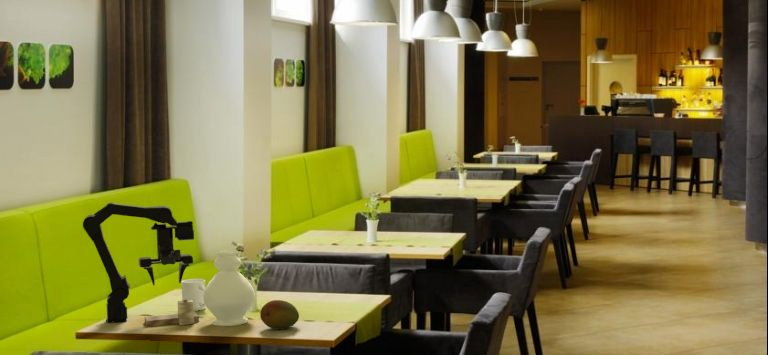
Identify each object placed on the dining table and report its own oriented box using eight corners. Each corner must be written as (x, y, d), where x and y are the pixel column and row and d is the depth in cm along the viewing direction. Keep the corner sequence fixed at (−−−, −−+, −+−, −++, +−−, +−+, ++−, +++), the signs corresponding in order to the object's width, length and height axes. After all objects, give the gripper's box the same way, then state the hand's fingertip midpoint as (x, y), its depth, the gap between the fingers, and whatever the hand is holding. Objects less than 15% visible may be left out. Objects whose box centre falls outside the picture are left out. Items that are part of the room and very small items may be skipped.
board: (147, 326, 387) (146, 320, 387) (144, 322, 393) (144, 316, 393) (198, 321, 393) (198, 316, 392) (195, 317, 399) (195, 312, 399)
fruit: (255, 329, 378) (254, 300, 377) (281, 323, 388) (280, 294, 387) (279, 334, 371) (278, 304, 370) (305, 327, 380) (304, 298, 379)
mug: (198, 313, 407) (196, 284, 406) (177, 309, 415) (176, 281, 414) (216, 309, 413) (215, 281, 412) (196, 305, 421) (195, 277, 420)
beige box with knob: (179, 325, 387) (178, 301, 386) (175, 319, 396) (174, 296, 396) (194, 323, 389) (193, 299, 388) (189, 318, 398) (188, 295, 397)
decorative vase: (235, 329, 379) (232, 256, 376) (194, 325, 387) (190, 254, 385) (265, 318, 394) (262, 249, 392) (225, 315, 403) (222, 246, 401)
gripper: (141, 246, 388) (143, 290, 390) (194, 242, 394) (196, 285, 396) (137, 242, 399) (139, 285, 400) (189, 238, 405) (191, 280, 406)
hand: (166, 284), depth 400 cm, fingers open, 9 cm apart
